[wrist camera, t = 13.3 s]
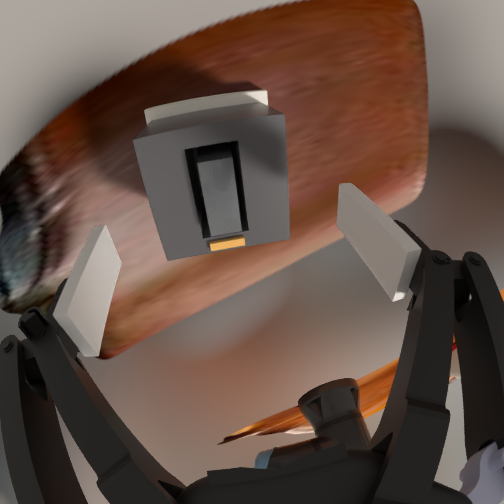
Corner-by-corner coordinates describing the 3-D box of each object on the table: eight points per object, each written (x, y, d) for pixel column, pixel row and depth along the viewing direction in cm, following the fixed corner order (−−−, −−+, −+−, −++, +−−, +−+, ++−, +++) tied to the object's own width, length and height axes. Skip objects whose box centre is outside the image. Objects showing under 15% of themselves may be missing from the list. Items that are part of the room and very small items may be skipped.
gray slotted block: (260, 102, 21) (285, 114, 15) (268, 197, 26) (290, 241, 20) (151, 120, 20) (131, 141, 14) (173, 214, 25) (167, 263, 20)
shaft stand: (271, 199, 28) (300, 256, 20) (171, 216, 27) (164, 281, 20) (262, 89, 21) (298, 99, 14) (147, 108, 20) (118, 129, 13)
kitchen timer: (450, 360, 75) (468, 392, 63) (432, 364, 70) (452, 400, 58) (476, 333, 68) (497, 366, 56) (461, 335, 63) (485, 372, 51)
